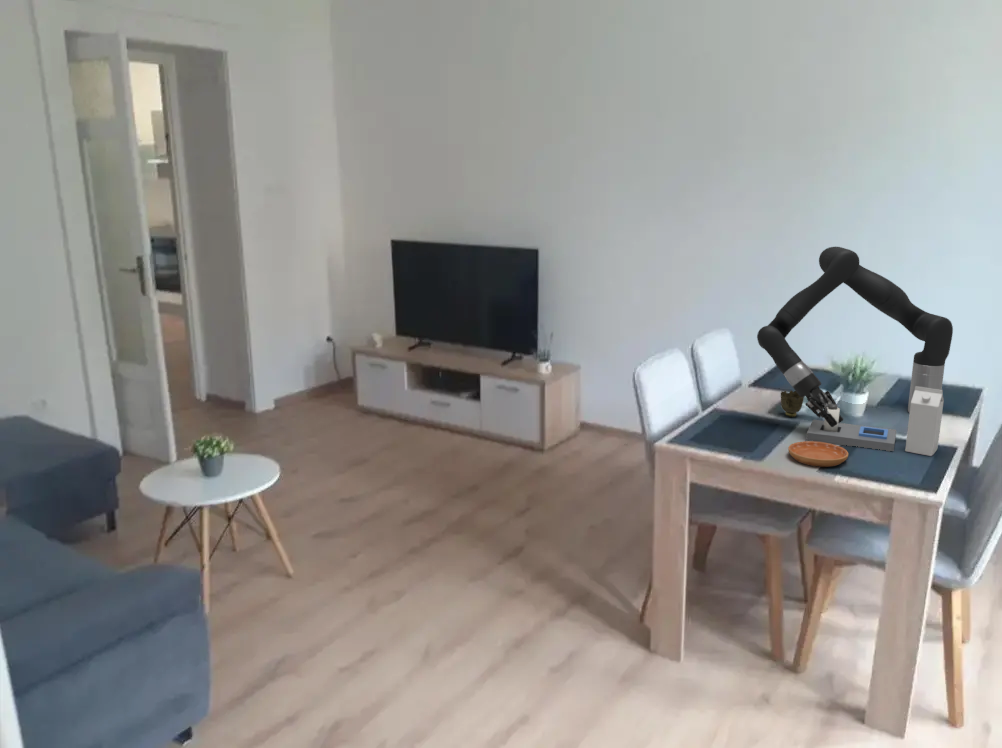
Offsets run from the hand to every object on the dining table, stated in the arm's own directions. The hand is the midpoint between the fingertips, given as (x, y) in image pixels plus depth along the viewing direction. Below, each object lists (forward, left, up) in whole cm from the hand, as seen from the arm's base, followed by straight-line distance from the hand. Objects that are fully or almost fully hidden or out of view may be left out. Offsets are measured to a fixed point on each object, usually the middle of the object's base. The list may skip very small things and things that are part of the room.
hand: (837, 423), depth 242 cm
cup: (-16, -16, -5) cm, 23 cm away
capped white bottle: (-1, -2, -5) cm, 5 cm away
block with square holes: (0, +4, -5) cm, 6 cm away
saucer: (+22, -3, -5) cm, 22 cm away
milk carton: (+2, +23, -5) cm, 24 cm away
